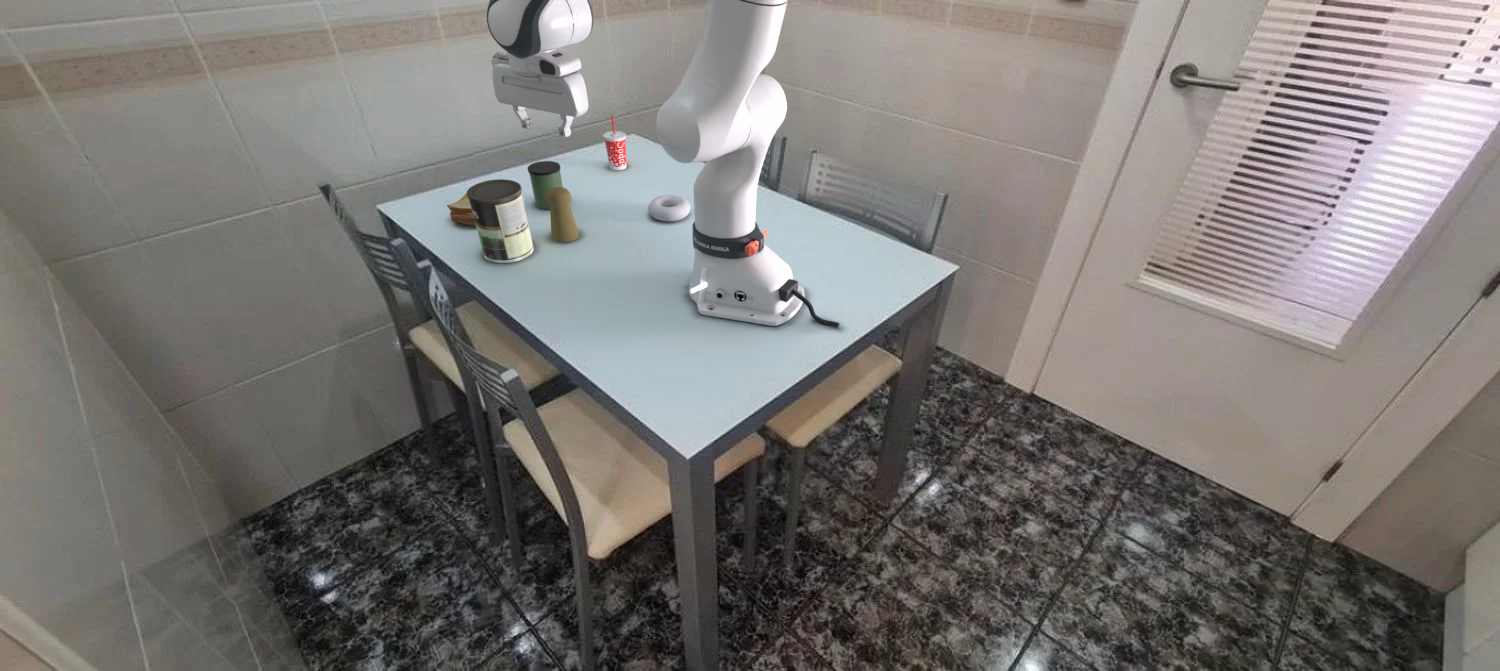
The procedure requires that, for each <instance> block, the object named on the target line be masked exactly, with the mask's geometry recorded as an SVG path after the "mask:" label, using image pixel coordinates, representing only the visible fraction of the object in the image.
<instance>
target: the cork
mask: <svg viewBox="0 0 1500 671" xmlns="http://www.w3.org/2000/svg"><path fill="white" fill-rule="evenodd" d="M546 201H547V203H548V204H549V205H550V209H549V214H550V216H549V217H550V235H551V240H552V241H553V242H556V243H563V244H565V243H569V242H573V241H576V240H577V239H579V237H580V233H579V229H578V226H577V222H576V220H575V217H574V213H573V210H572V206H571V202H572V195H571V192H570V190H568V188H565V187H563V188H562V187H555V188H552V189H550V190H548V191H547V193H546Z"/></svg>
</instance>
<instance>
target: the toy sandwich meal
mask: <svg viewBox="0 0 1500 671" xmlns="http://www.w3.org/2000/svg"><path fill="white" fill-rule="evenodd" d="M446 207H447V208H448V209H449V211H450V213H449V215H450V218H451V220H452V221H455V222H457V223H458V224H459V223H460V224H462V225H467V226H476V224H475V220H474V216H473V213H472V209H471V205H470V202H469V199H468V197H467V192H466V193H465V194H464V195H463V196H462V197H461V198H460V199H459V200H457V201H455V202H453V203H450V204H446Z"/></svg>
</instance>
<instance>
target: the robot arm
mask: <svg viewBox="0 0 1500 671" xmlns="http://www.w3.org/2000/svg"><path fill="white" fill-rule="evenodd" d="M788 1H789V0H707V5H706V11H705V15H704V22H703V27H702V30H701V34H700V38H699V42H698V45H697V47H696V50H695V52H694V55H693V57H692V59H691V61H690V63H689V65H688V68H687V70H686V71H685V74H684V75H683V77H682V79H681V81H680V82H679V84H678V86H677V87H676V89H675V90H674V92H673V93H672V94H671V95H670V97H668V98H667V100H666V101H664V103H662V105H661V106H660V108H659V109H658V111H657V115H656V122H655V126H656V127H655V128H656V134H657V138H658V141H659V143H660V145H661V147H662V149H663V150H664V151H665V153H666V154H667V155H668V156H669V157H670V158H671V159H673V161H676V162H678V163H681V164H694V163H703V162H705V164H704V166H703V168H702V169H701V170H700V172H699V173H698V175H697V176H696V178H695V181H694V183H693V190H692V191H693V214H694V215H693V216H694V221H693V223H692V246H693V249H694V260H693V269H692V274H691V275H692V276H691V279H690V284H689V286H688V295H689V297H690V299H691V300H693V302H694V303H695V304H696V306H697V312H698V313H699V314H700V315H703V316H708V317H714V318H721V319H726V320H732V321H738V322H746V323H751V324H758V325H764V326H770V327H771V326H772V327H777V326H779V325H780V326H781V325H783V324H785V323H787V322H788V321H789V320H791V319H792V318H794V316H796V314H797V313H798V312H799V311H800V309H801V308H802V306H803V305H805V306H806V307H807V309H808V311H809V315H810V316H811V318H812V319H813V320H814V321H816V322H817V323H818V324H821V325H824V326H829V327H835V328H839V327H840V324H841V323H840V322H837V321H832V320H828V319H824V318H822V317H820V316H818V315H817V314H816V312H815V309H814V306H813V305H812V303H811V301H809V299H808V298H806V297H805V289H804V287H803V286H802V285H799V281H798V280H795V279H794V276H793V270H792V269H791V266H790V265H789V264H788V263H787V262H785V261H784V259H783V258H781V257H780V256H779V255H778V254H776V253H775V252H774V251H773V250H772V249H771V248H770V247H769V246H767V244H766V243H765V239H766V237H768V235H769V233H768V231H769V228H766V229H765V230H764V231H763V232H762V231H761V229H760V228H759V225H758V222H757V221H756V218H757V217H756V216H757V197H758V186H759V181H760V178H761V172H762V169H763V165H764V162H765V159H766V156H767V153H768V151H769V149H770V148H769V147H770V144H771V142H772V140H773V138H774V136H775V135H776V133H777V131H778V130H779V128H780V127H781V125H782V124H783V123H784V121H785V118H786V116H787V110H788V102H787V97H786V94H785V91H784V89H783V86H782V85H781V84H780V82H779V81H778V80H777V79H776V78H774V77H772V76H771V75H769V74H766V73H765V74H764V73H762V72H763V70H764V69H765V68H766V67H767V66H768V65H769V64H770V62H771V60H772V59H773V57H774V56H775V53H776V51H777V46H778V42H779V38H780V34H781V31H782V27H783V22H784V18H785V14H786V10H787V5H788ZM486 23H487V28H488V30H489V33H490V35H491V37H492V38H493V40H494V41H495V42H496V43H497V45H498V46H499V47H500V48H501V49H503V50H504V51H505V52H506V53H504V52H499V51H498V52H496V53H495V54H494V55H492V57H491V65H492V83H493V90H494V91H493V92H494V96H495V98H496V99H497V101H498V102H499V103H500V104H504V105H509V106H512V110H513V112H514V114H515V115H516V117H517V118H518V120H519V121H520V126H521V128H522V129H526V130H530V129H533V127H534V124H533V118H532V117H529V115H528V113H527V111H526V109H530V110H536V111H541V112H545V113H550V114H558V115H559V116H560V120H561V121H562V124H561V126H558V127H557V129H558V135H559V136H560V137H565V138H568V137H570V136H571V134H572V130H571V125H572V123H573V120H574V118H578V117H581V116H583V115H585V114H586V113H587V112H588V110H589V99H588V98H589V97H588V90H587V86H586V82H585V79H584V76H583V75H582V74H581V73H580V71H581V69H582V61H581V59H580V58H579V57H577V56H576V55H574V54H572V53H570V52H568V51H567V50H565V49H564V48H563V47H566V46H571V45H574V44H579V43H581V42H582V41H585V40H587V39H588V38H589V36H591V34H592V31H593V27H594V12H593V6H592V4H591V1H590V0H489V1H488V5H487V10H486Z"/></svg>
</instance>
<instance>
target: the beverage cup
mask: <svg viewBox="0 0 1500 671" xmlns="http://www.w3.org/2000/svg"><path fill="white" fill-rule="evenodd" d="M611 123H612V130H611V131H605V133H603V134H602V137H603V140H604V145H605V149H606V155H607V161H608V165H609V169H610V170H612V171H623V170H625V169H627V144H626V139H627V133H626V132H624V131H622V130H621V131H620V130H616V128H615V118H614V115H611Z"/></svg>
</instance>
